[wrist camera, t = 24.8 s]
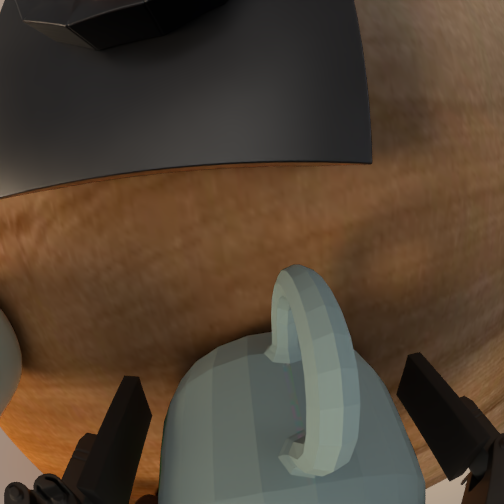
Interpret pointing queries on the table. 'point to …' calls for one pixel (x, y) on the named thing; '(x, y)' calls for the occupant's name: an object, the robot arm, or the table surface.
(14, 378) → the cup
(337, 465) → the mug
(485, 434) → the robot arm
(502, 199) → the table surface
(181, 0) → the control block
